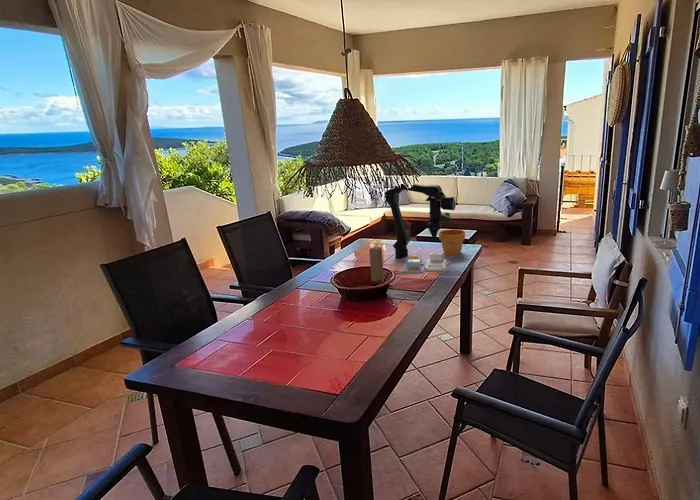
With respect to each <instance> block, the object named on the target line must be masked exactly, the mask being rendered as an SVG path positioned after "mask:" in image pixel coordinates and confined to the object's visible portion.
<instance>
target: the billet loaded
mask: <svg viewBox="0 0 700 500" xmlns="http://www.w3.org/2000/svg"><path fill="white" fill-rule="evenodd" d="M443 255H444V252H431V253H430V255H429V256H430V258H429V259H431V262H443V259H444V256H443Z"/></svg>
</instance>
